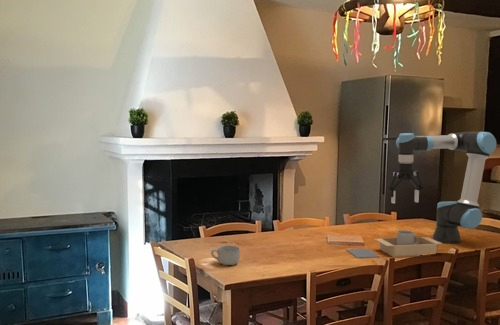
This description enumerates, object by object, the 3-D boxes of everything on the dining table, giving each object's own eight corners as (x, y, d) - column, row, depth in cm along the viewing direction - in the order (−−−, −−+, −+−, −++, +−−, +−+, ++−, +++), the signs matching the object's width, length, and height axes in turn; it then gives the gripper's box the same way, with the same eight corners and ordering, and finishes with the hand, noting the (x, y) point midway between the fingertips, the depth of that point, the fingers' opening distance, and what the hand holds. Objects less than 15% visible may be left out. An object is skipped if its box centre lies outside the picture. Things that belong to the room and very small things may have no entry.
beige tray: (426, 247, 263) (426, 236, 262) (443, 255, 246) (443, 243, 246) (373, 249, 257) (373, 238, 257) (387, 257, 241) (387, 246, 241)
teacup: (240, 260, 234) (240, 244, 233) (240, 267, 223) (240, 250, 222) (211, 260, 233) (211, 244, 233) (210, 267, 222) (210, 250, 222)
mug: (403, 255, 246) (404, 234, 245) (393, 251, 254) (393, 231, 253) (422, 253, 250) (422, 232, 249) (411, 249, 258) (412, 229, 257)
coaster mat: (367, 249, 256) (367, 248, 256) (379, 257, 242) (379, 256, 242) (346, 250, 254) (346, 249, 254) (357, 258, 240) (357, 257, 240)
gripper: (423, 161, 255) (422, 200, 257) (380, 162, 250) (379, 202, 252) (431, 162, 248) (430, 202, 250) (387, 163, 243) (386, 204, 244)
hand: (404, 202), depth 251 cm, fingers open, 13 cm apart
